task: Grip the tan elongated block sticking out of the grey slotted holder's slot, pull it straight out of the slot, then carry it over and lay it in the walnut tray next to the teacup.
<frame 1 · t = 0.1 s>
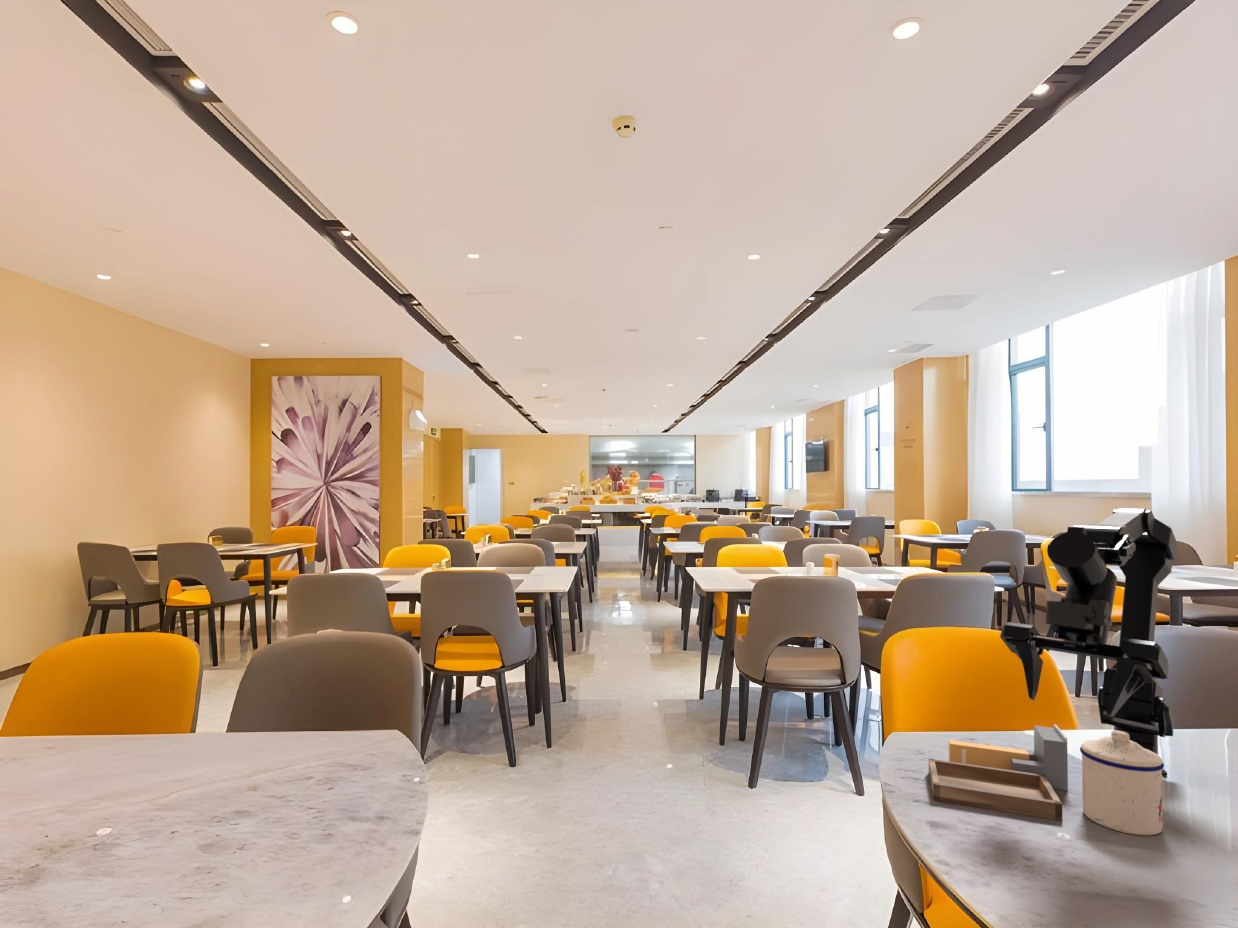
hand: (1069, 706, 92), 15 cm above the table, tool tilted 30°, fingers open, 9 cm apart
teacup with lid: (1115, 817, 93), on the table
tray: (990, 794, 99), on the table
tan elongated block: (988, 772, 108), on the table
grey slotted holder: (1035, 777, 105), on the table
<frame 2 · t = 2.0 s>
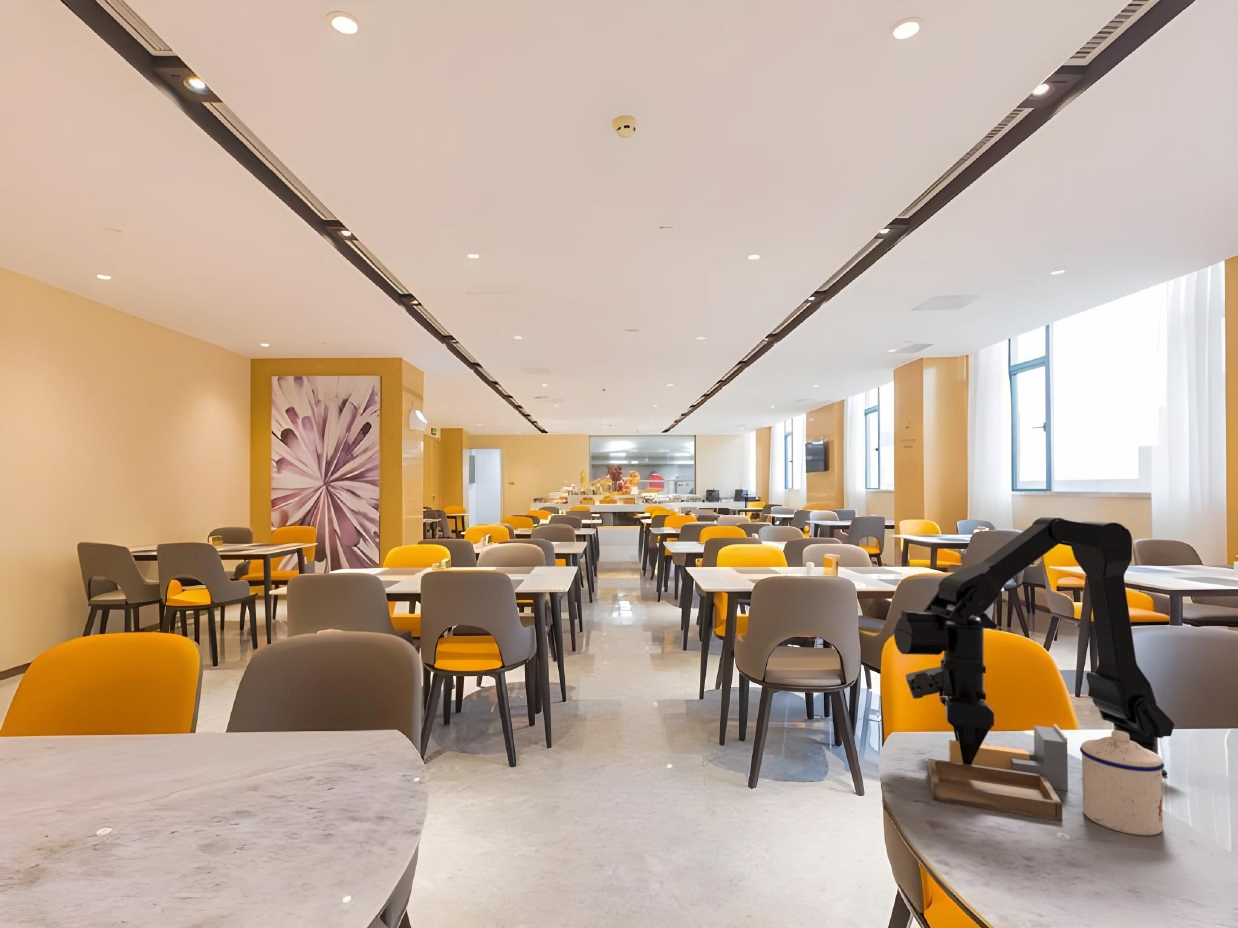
hand: (963, 754, 109), 2 cm above the table, tool pointing down, fingers open, 8 cm apart
nothing on the table moved.
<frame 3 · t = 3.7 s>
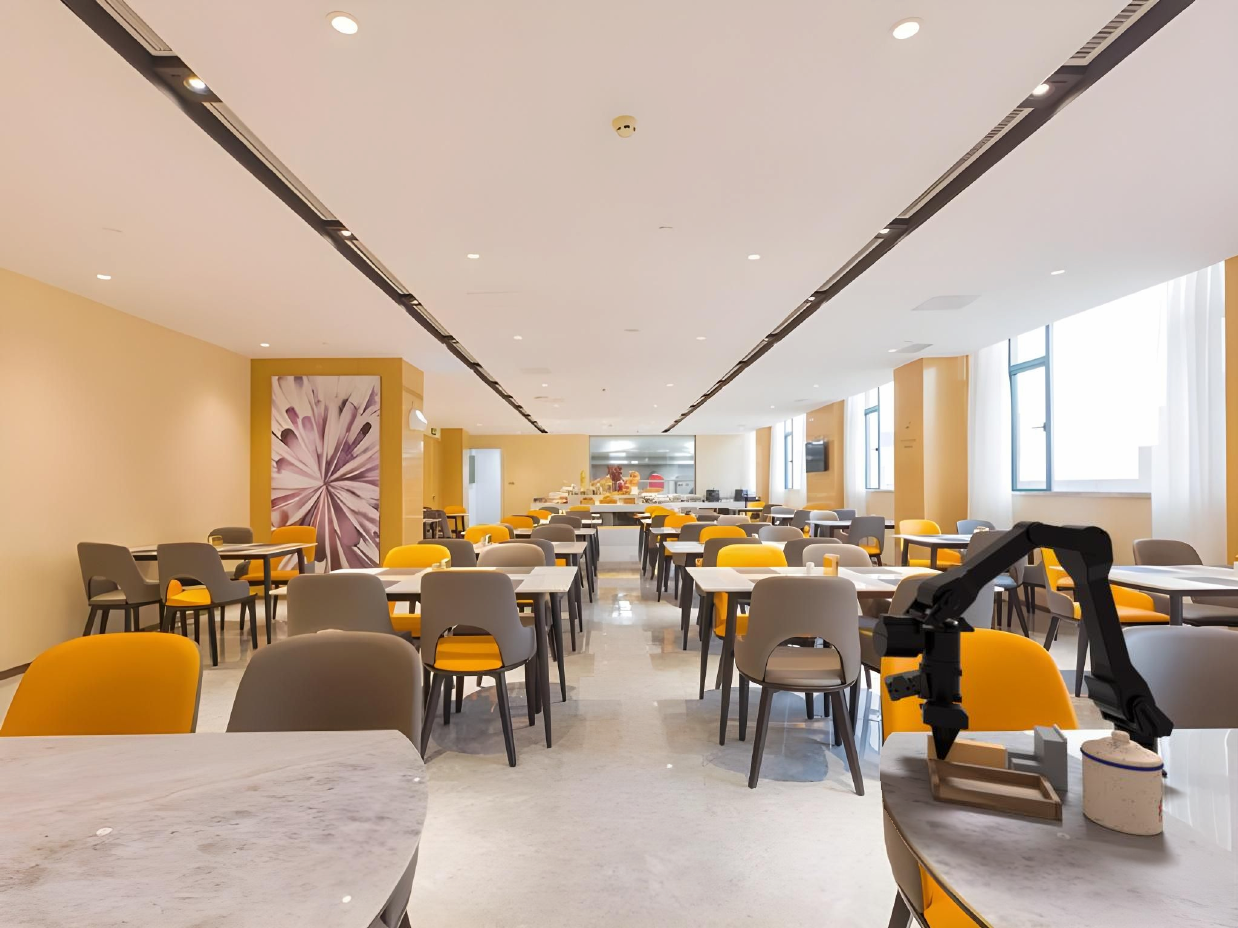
hand: (940, 756, 110), 1 cm above the table, tool pointing down, fingers closed on tan elongated block, 2 cm apart
tan elongated block: (965, 767, 109), on the table, touching gripper
everything else where it was.
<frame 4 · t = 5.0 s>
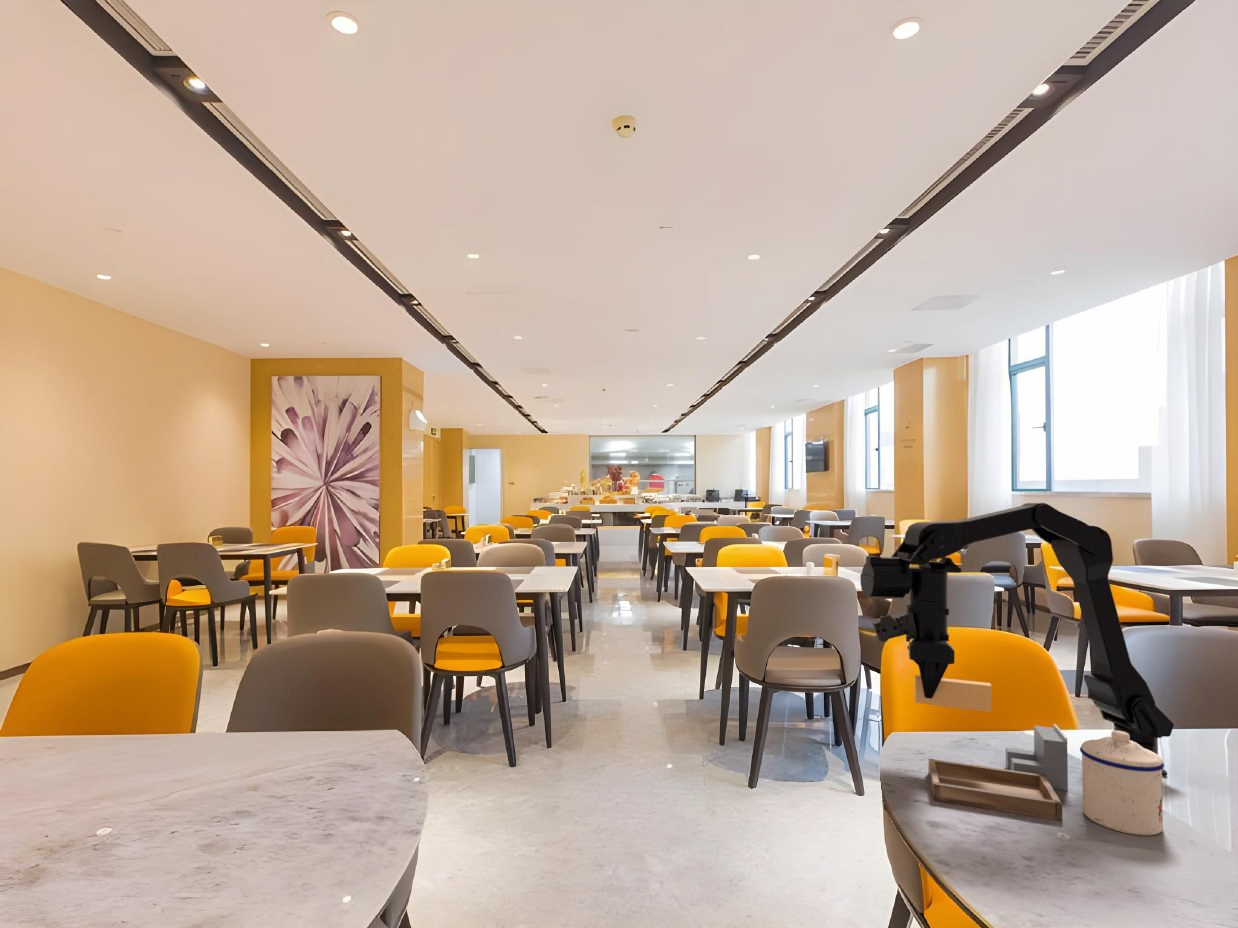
hand: (927, 695, 111), 11 cm above the table, tool pointing down, fingers closed on tan elongated block, 2 cm apart
tan elongated block: (952, 705, 110), point 10 cm above the table, touching gripper
everything else where it was.
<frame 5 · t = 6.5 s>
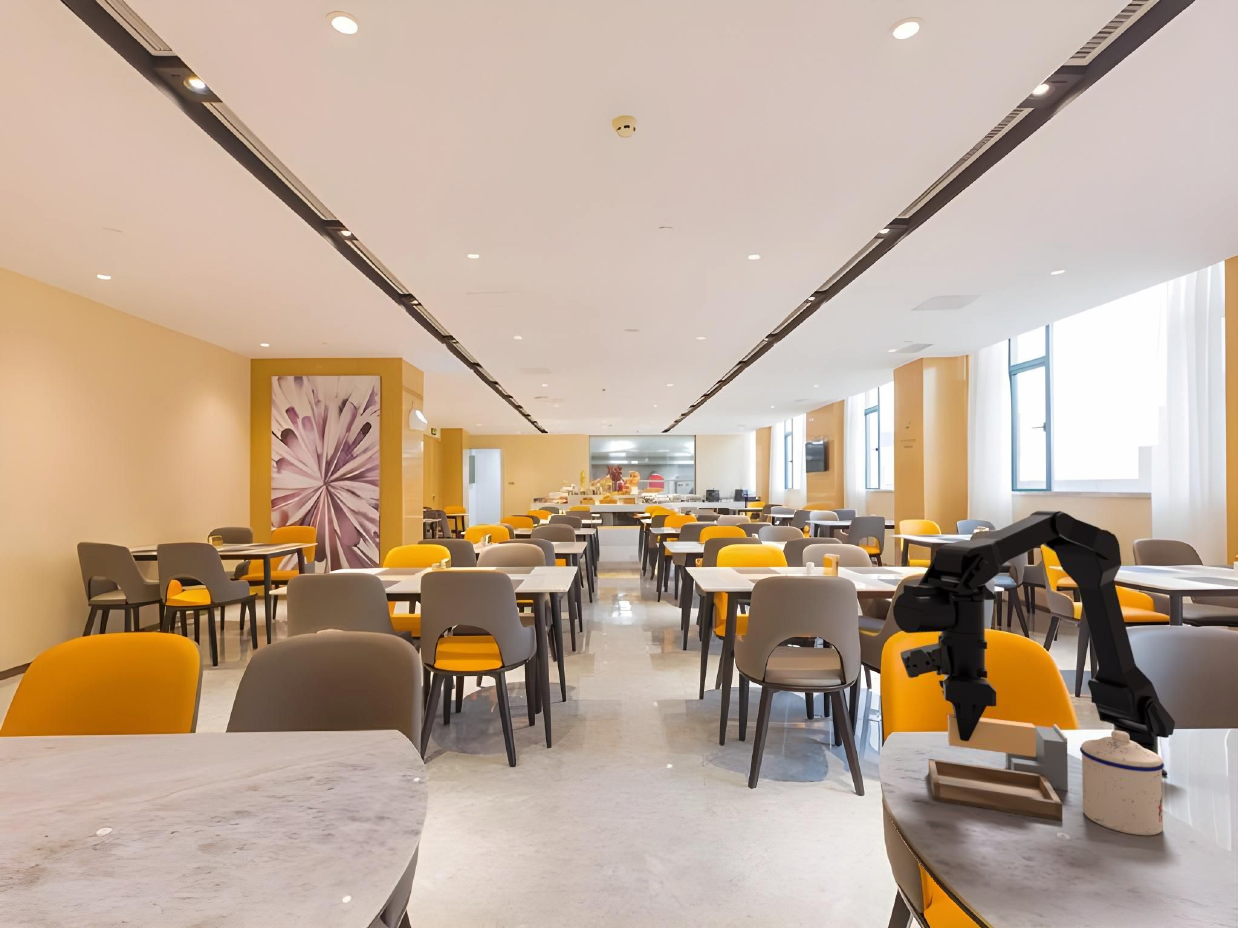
hand: (963, 737, 100), 8 cm above the table, tool pointing down, fingers closed on tan elongated block, 2 cm apart
tan elongated block: (990, 748, 99), point 7 cm above the table, touching gripper
everything else where it was.
when the fingers open (3 cm above the table, at t = 7.4 s): tan elongated block drops 1 cm, resting on tray.
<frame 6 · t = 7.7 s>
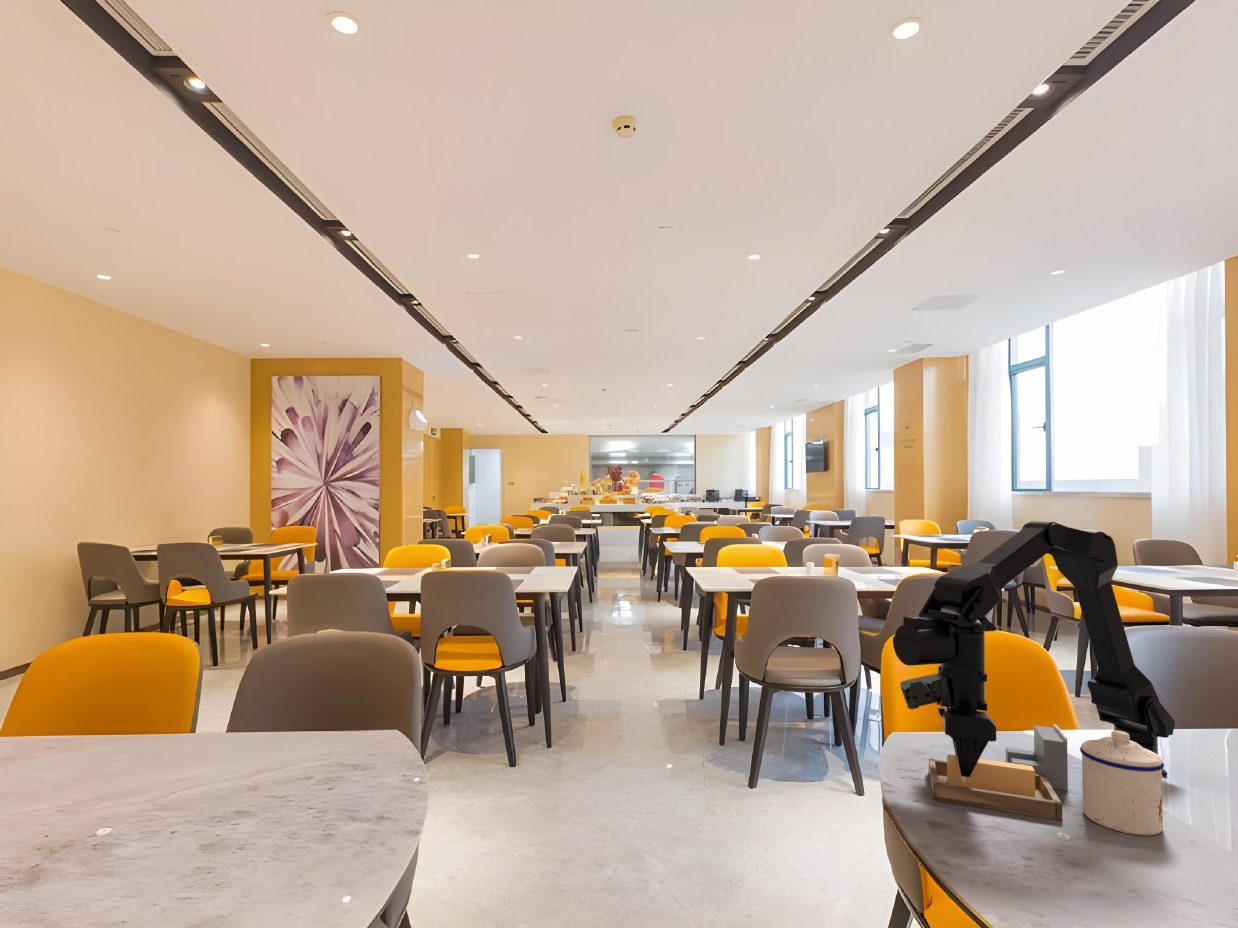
hand: (963, 769, 100), 3 cm above the table, tool pointing down, fingers open, 5 cm apart
tan elongated block: (989, 790, 99), point 1 cm above the table, touching tray
everything else where it was.
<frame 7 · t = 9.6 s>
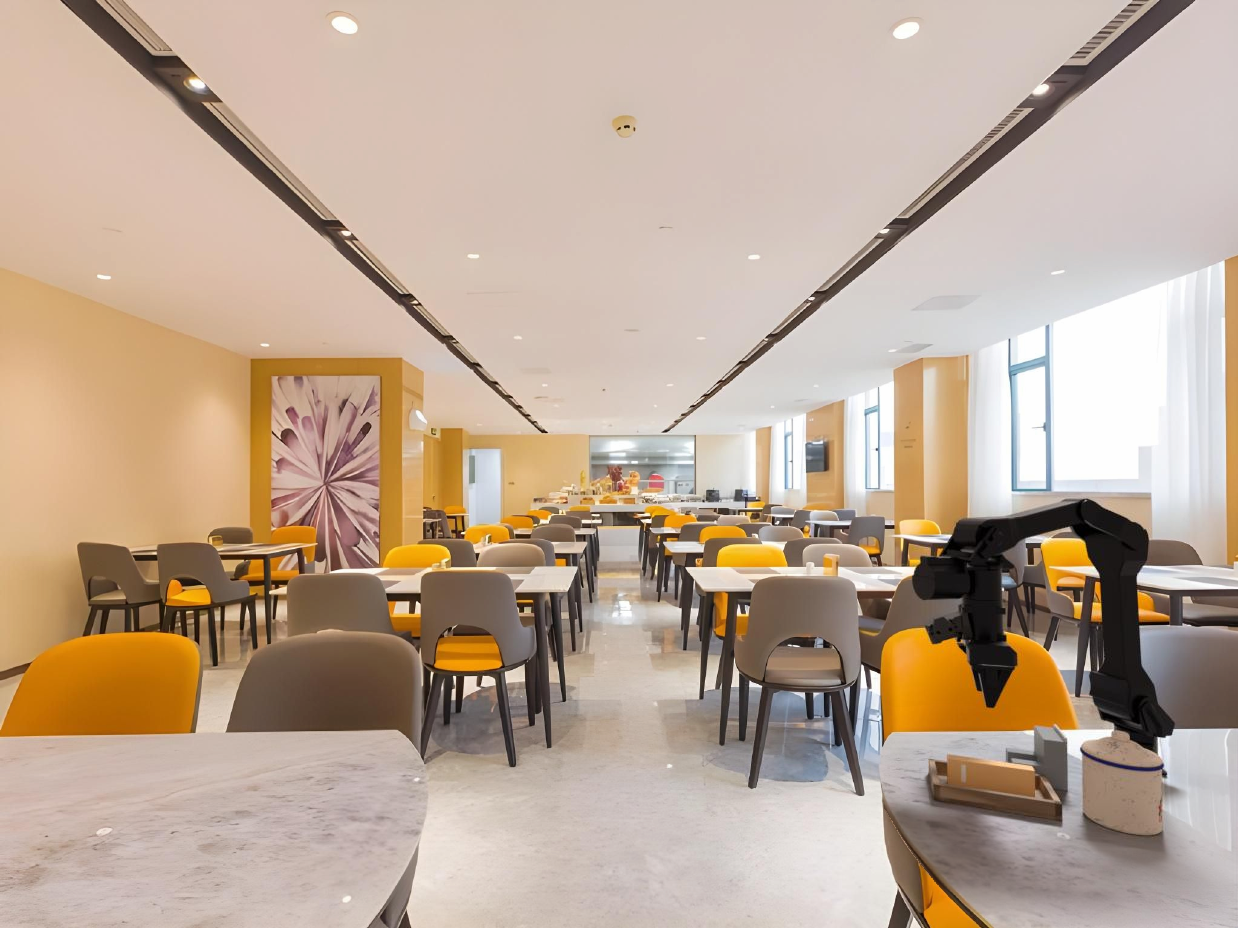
hand: (985, 698, 107), 12 cm above the table, tool pointing down, fingers open, 9 cm apart
nothing on the table moved.
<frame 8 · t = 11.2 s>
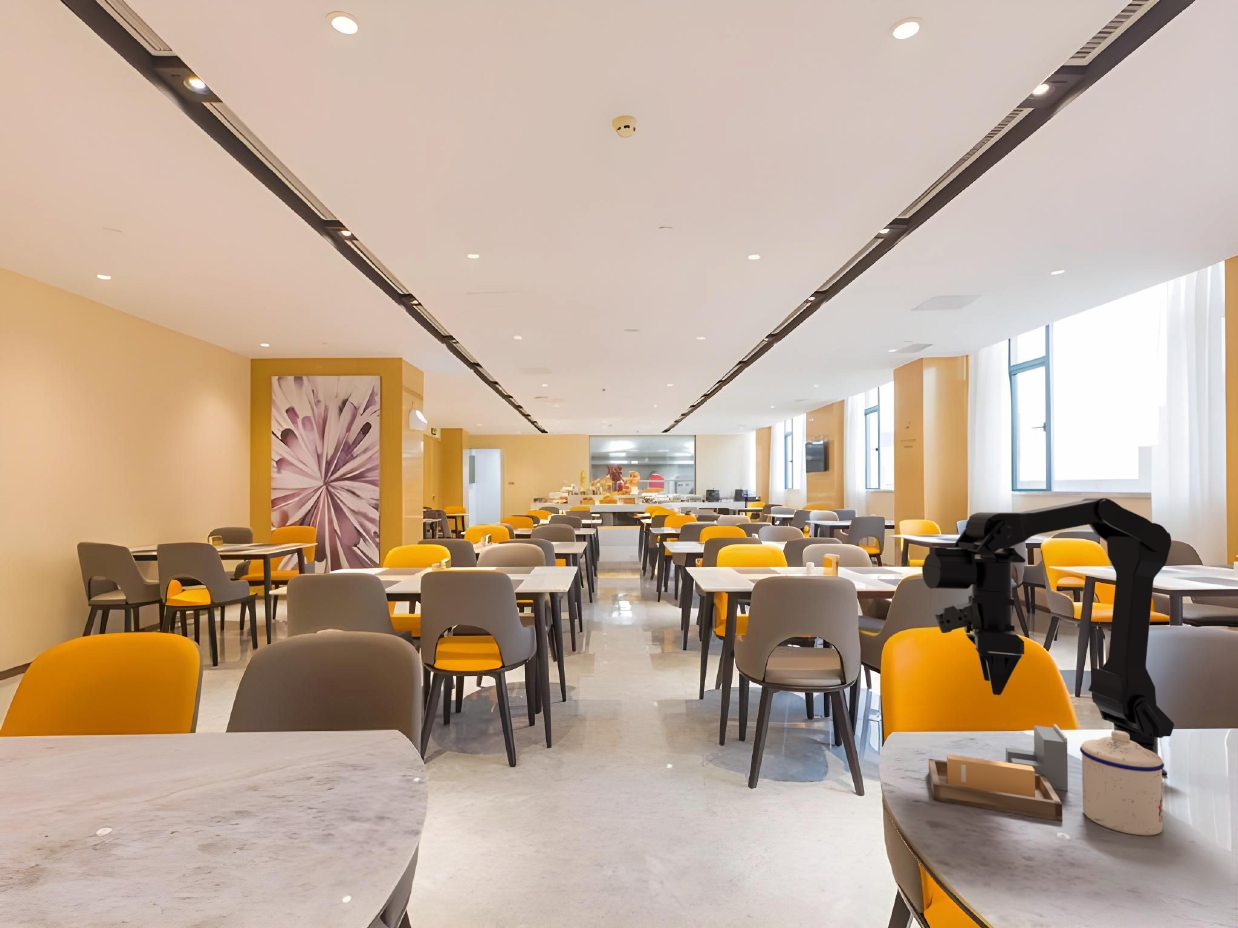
hand: (992, 687, 110), 13 cm above the table, tool pointing down, fingers open, 9 cm apart
nothing on the table moved.
at the end: tan elongated block inside the target area on the tray (0.1 cm from its centre), point 0.6 cm above the tray's base; tan elongated block moved 10.0 cm from its start; the gripper is holding nothing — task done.
